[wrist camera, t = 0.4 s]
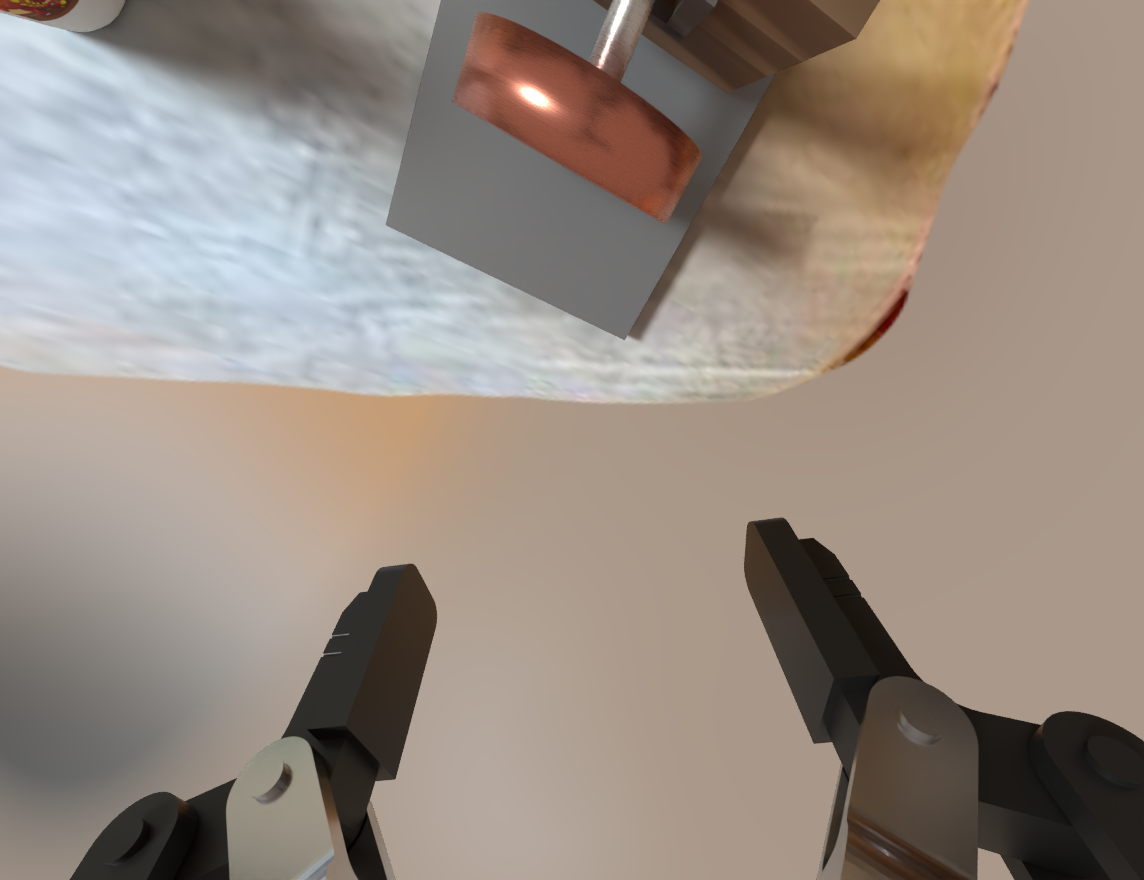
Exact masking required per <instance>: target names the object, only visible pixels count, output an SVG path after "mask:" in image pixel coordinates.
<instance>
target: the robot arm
mask: <svg viewBox="0 0 1144 880" xmlns="http://www.w3.org/2000/svg"><path fill="white" fill-rule="evenodd" d="M744 572H745V578H746V582H747V586H748V589H749V592H750V594H751V596H752V599H753V601H754V603H755V606H756V608H757V611H758V613H759V616H760V618H761V620H762V623H763V625H764V627H765V629H766V632H767V634H768V637H769V639H770V641H771V643H772V646H773V649H774V651H775V653H776V656H777V658H778V660H779V663H780V665H781V667H782V670H783V672H784V674H785V677H786V679H787V682H788V684H789V686H790V688H791V691H792V693H793V696H794V698H795V700H796V702H797V705H798V707H799V710H800V712H801V714H802V716H803V719H804V722H805V724H806V726H807V729H808V731H809V733H810V736H811V738H812V740H813V743H814V744H815V743H826V742H832V743H833V745H834V747H835V749H836V752H837V754H838V756H839V758H840V760H841V766H840V770H839V775H838V779H837V785H836V789H835V794H834V799H833V804H832V808H831V814H830V818H829V823H828V828H827V832H826V838H825V842H824V847H823V852H822V857H821V861H820V866H819V870H818V875H817V879H816V880H977V859H978V857H977V856H978V848H981V849H985V850H988V851H991V852H994V853H998V854H1000V855H1001V857H1002V859H1003V860H1004V862H1005V864H1006V866H1007V867H1008V869H1009V871H1010V873H1011V874H1012V876H1013V878H1014V880H1144V741H1143V740H1141V739H1140V738H1138V737H1137V736H1136V735H1134V734H1132V733H1131V732H1129V731H1127V730H1126V729H1124V728H1122V727H1120V726H1118V725H1116V724H1114V723H1112V722H1110V721H1107V720H1105V719H1102V718H1100V717H1097V716H1094V715H1090V714H1087V713H1081V712H1072V711H1065V712H1059V713H1056V714H1053V715H1051V716H1050V717H1049V718H1047V719H1046V721H1045V722H1044V723H1043V724H1042V725H1038V724H1033V723H1029V722H1025V721H1020V720H1015V719H1011V718H1006V717H1001V716H996V715H992V714H987V713H983V712H979V711H975V710H971V709H969V708H966V707H963V706H961V705H959V704H956V703H955V702H954V701H952V699H951V698H949V697H948V696H947V695H945V694H944V693H943V692H941V691H940V690H938V689H936V688H935V687H933V686H931V685H929V684H927V683H925V682H923V680H922V679H920V677H919V676H918V675H917V674H916V673H915V672H914V671H913V669H912V668H911V667H910V665H909V664H908V662H907V661H906V659H905V658H904V656H903V655H902V653H901V652H900V651H899V649H898V648H897V646H896V645H895V643H894V642H893V640H892V639H891V637H890V636H889V634H888V633H887V631H886V630H885V628H884V627H883V625H882V624H881V622H880V621H879V619H878V618H877V617H876V615H875V613H874V612H873V610H872V609H871V608H870V606H869V605H868V603H867V602H866V600H865V599H864V598H862V597H861V593H860V591H859V590H858V588H857V587H856V585H855V584H854V583H853V581H852V580H850V579H849V575H848V573H847V572H846V571H845V569H844V568H843V566H842V565H841V563H840V562H839V560H838V559H837V557H836V556H835V554H833V553H832V552H831V551H829V550H828V549H827V548H826V547H824V546H823V545H821V544H820V543H819V542H818V541H816V540H815V539H814V538H808V539H800V540H799V539H798V538H797V536H796V535H795V533H794V531H793V530H792V528H791V526H790V525H789V523H788V522H787V521H786V519H784V518H774V519H767V520H759V521H751V522H749V523H748V525H747V534H746V547H745V561H744ZM436 623H437V610H436V605H435V602H434V599H433V598H432V596H431V594H430V592H429V590H428V588H427V586H426V584H425V582H424V580H423V579H422V577H421V575H420V573H419V571H418V569H417V567H416V566H415V565H414V564H404V565H397V566H389V567H382V568H380V569H379V570H378V571H377V572H376V574H375V576H374V578H373V581H372V583H371V585H370V587H369V590H368V592H361V593H359V594H358V595H357V597H356V598H355V599H354V600H353V601H352V602H351V604H350V605H349V606H348V607H347V608H346V609H345V610H344V611H343V612H342V615H341V617H340V619H339V621H338V623H337V625H336V628H335V629H334V631H333V633H332V639H330V640H329V642H328V644H327V646H326V648H325V650H324V652H323V653H324V656H323V657H321V659H320V661H319V663H318V665H317V667H316V669H315V672H314V673H313V675H312V677H311V680H310V682H309V684H308V686H307V688H306V690H305V692H304V694H303V696H302V698H301V701H300V702H299V705H298V707H297V709H296V711H295V713H294V715H293V718H292V719H291V721H290V724H289V726H288V728H287V729H286V731H285V733H284V735H283V736H282V738H281V739H280V740H278V741H276V742H273V743H272V744H270V745H269V746H267V747H265V748H264V749H263V750H262V751H260V752H259V753H258V754H257V755H256V756H255V757H254V758H253V759H252V760H251V761H250V762H249V763H248V764H247V765H246V766H245V768H244V769H243V770H242V772H241V773H240V774H239V776H238V778H236V779H234V780H232V781H229V782H227V783H225V784H223V785H220V786H218V787H216V788H214V789H212V790H209V791H207V792H205V793H203V794H201V795H198V796H196V797H194V798H192V799H189V800H187V801H183V800H181V799H179V798H178V797H176V796H175V795H173V794H171V793H168V792H158V793H154V794H151V795H149V796H146V797H144V798H142V799H140V800H139V801H137V802H135V803H134V804H132V805H131V806H129V807H128V808H127V809H126V810H125V811H123V812H122V813H121V814H119V815H118V816H117V817H116V818H115V819H114V820H113V821H112V822H111V823H110V824H109V825H108V826H107V827H106V828H105V829H104V830H103V832H102V833H101V834H100V836H98V838H97V839H96V840H95V842H94V843H93V845H92V846H91V848H90V849H89V850H88V852H87V854H86V855H85V857H84V858H83V860H82V861H81V863H80V864H79V866H78V868H77V869H76V871H75V872H74V874H73V875H72V877H71V879H70V880H396V879H395V876H394V873H393V870H392V866H391V863H390V860H389V857H388V853H387V850H386V847H385V844H384V840H383V838H382V834H381V831H380V828H379V824H378V821H377V818H376V815H375V811H374V808H373V805H372V803H371V801H370V797H371V794H372V790H373V787H374V783H375V781H382V780H393V779H395V778H396V775H397V771H398V767H399V764H400V760H401V756H402V752H403V749H404V744H405V741H406V737H407V734H408V730H409V726H410V722H411V718H412V714H413V711H414V707H415V703H416V700H417V696H418V692H419V689H420V685H421V681H422V677H423V673H424V670H425V666H426V662H427V658H428V654H429V651H430V647H431V643H432V639H433V636H434V632H435V628H436Z"/></svg>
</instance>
